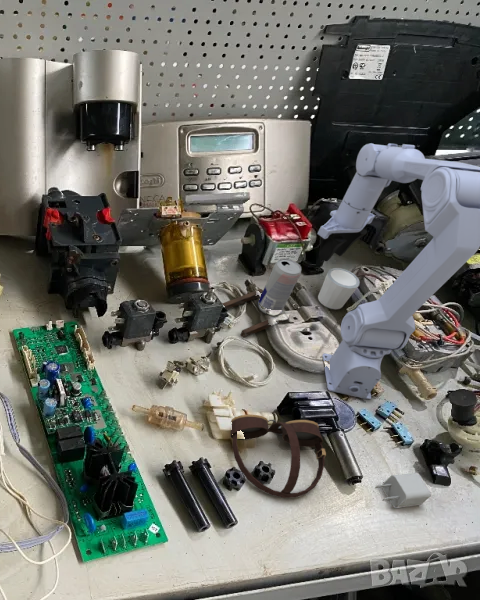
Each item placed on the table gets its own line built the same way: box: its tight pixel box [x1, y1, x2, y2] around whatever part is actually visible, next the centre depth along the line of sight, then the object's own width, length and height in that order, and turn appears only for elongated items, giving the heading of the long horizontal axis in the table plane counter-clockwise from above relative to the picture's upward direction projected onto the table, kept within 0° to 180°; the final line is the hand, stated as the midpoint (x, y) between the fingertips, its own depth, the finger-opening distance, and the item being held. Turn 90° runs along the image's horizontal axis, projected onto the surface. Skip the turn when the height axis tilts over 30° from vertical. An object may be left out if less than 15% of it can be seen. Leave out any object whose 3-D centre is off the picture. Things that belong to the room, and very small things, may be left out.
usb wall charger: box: [374, 472, 432, 509], centre depth 83 cm, size 4×7×4 cm, turn 99°
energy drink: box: [257, 258, 302, 315], centre depth 111 cm, size 5×5×12 cm
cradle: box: [221, 288, 284, 339], centre depth 113 cm, size 13×9×2 cm
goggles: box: [229, 413, 327, 499], centre depth 84 cm, size 15×13×10 cm
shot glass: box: [317, 267, 361, 310], centre depth 117 cm, size 7×7×7 cm
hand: (330, 255), depth 114 cm, fingers open, 4 cm apart
